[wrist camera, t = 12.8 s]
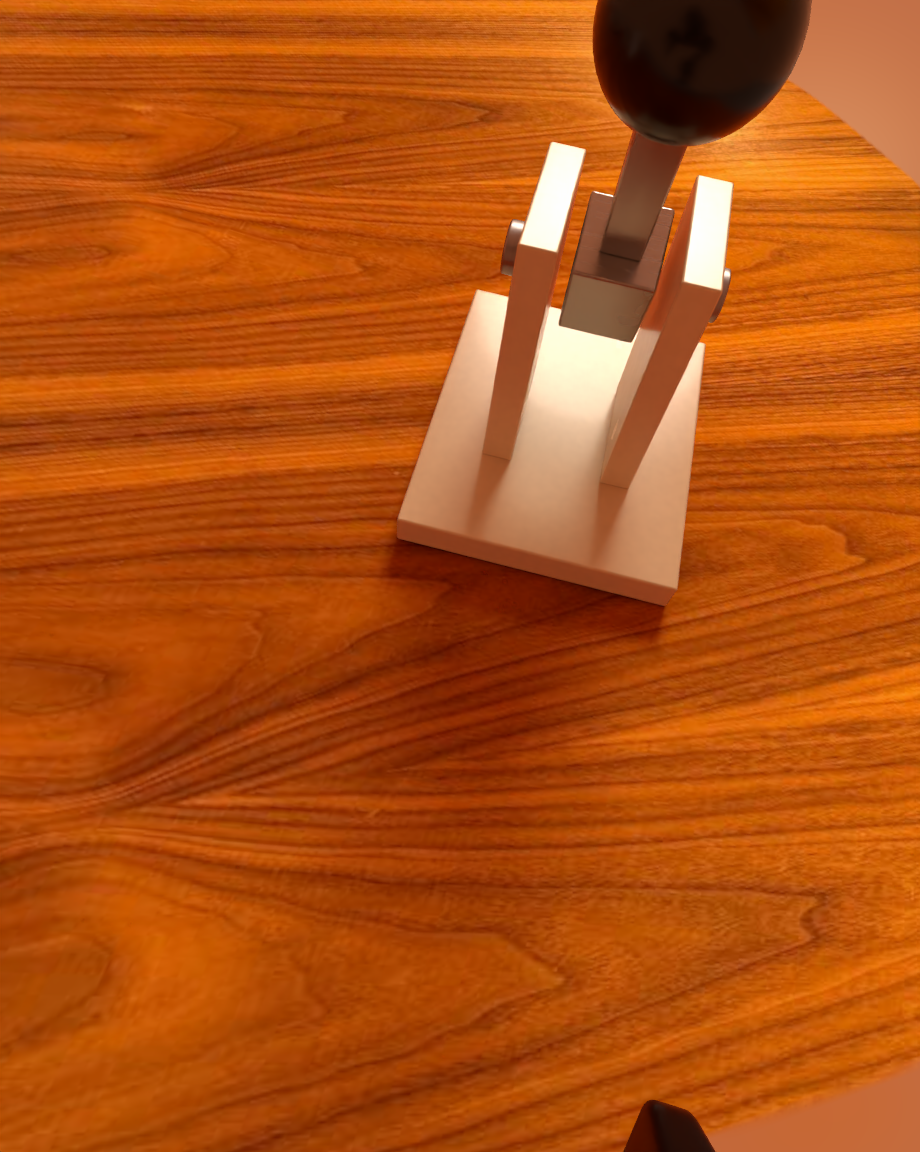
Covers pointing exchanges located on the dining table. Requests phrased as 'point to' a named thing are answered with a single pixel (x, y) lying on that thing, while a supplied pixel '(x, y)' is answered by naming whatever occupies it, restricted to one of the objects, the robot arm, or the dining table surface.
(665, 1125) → the robot arm
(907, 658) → the dining table surface
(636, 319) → the lever
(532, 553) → the bracket
